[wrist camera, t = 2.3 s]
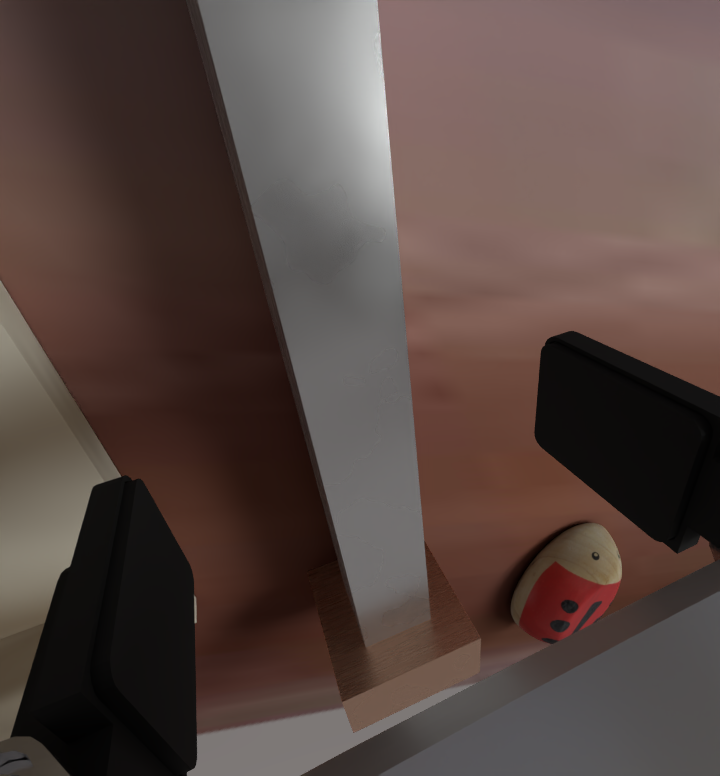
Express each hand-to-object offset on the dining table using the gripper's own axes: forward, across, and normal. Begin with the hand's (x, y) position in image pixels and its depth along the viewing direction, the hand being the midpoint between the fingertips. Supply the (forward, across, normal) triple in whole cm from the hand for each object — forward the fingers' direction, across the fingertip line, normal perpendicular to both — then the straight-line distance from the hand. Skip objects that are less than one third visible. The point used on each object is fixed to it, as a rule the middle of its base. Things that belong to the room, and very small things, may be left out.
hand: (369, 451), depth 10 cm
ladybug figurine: (+7, -13, +22) cm, 26 cm away
